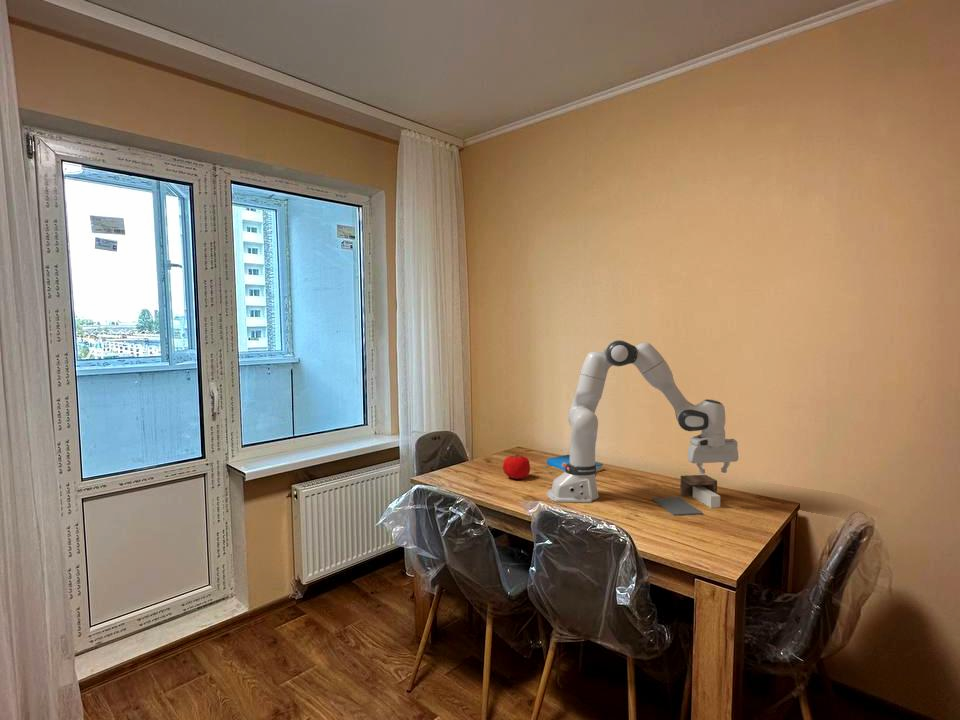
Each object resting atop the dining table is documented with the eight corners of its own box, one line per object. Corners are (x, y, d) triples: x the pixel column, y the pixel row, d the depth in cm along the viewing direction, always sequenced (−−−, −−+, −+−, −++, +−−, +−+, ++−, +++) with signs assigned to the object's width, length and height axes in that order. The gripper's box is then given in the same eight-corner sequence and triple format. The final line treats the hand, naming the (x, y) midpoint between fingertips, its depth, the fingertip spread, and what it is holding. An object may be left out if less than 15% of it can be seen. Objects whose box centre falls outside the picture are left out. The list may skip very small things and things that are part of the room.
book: (569, 454, 278) (603, 463, 258) (569, 461, 279) (603, 471, 258) (546, 458, 269) (579, 468, 248) (546, 466, 269) (579, 476, 248)
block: (710, 508, 202) (711, 496, 201) (692, 497, 216) (692, 485, 215) (720, 508, 202) (720, 496, 202) (701, 496, 216) (701, 485, 216)
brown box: (691, 501, 209) (691, 481, 209) (680, 494, 218) (680, 475, 218) (716, 500, 210) (717, 480, 210) (705, 493, 219) (705, 474, 219)
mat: (673, 515, 193) (673, 514, 193) (652, 499, 212) (652, 498, 212) (703, 514, 195) (703, 512, 195) (678, 498, 213) (678, 497, 213)
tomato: (531, 481, 239) (530, 457, 239) (503, 481, 239) (503, 458, 239) (529, 474, 251) (528, 451, 251) (502, 474, 252) (502, 451, 251)
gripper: (732, 436, 207) (732, 469, 208) (685, 438, 205) (685, 471, 206) (742, 440, 201) (741, 473, 202) (693, 442, 199) (693, 476, 200)
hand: (713, 472), depth 204 cm, fingers open, 8 cm apart
